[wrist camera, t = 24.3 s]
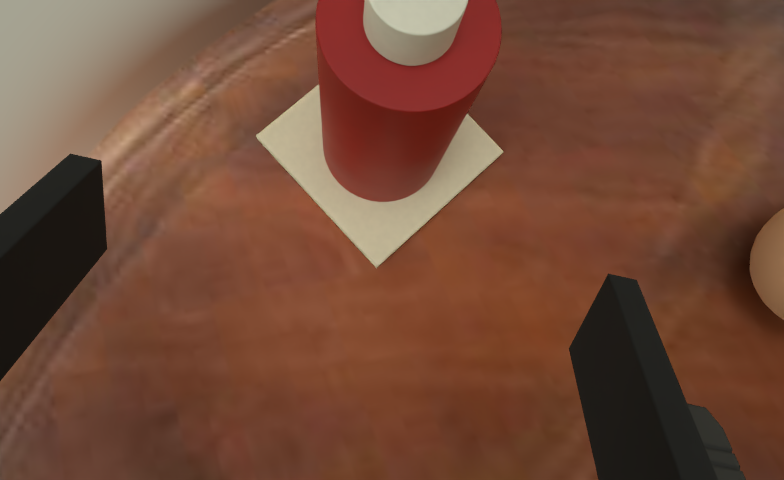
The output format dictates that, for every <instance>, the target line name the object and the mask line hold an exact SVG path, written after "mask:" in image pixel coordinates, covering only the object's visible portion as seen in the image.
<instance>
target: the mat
mask: <svg viewBox="0 0 784 480" xmlns="http://www.w3.org/2000/svg"><path fill="white" fill-rule="evenodd" d="M256 137H257V139H258V140H259V141H260V142H261V143H262V145H263V146H264V147H265V148H266V149H267V150H268V151H269V152H270V153H271V154H272V155H273V157H274V158H275V159H276V160H277V161H278V162H279V163H280V164H281V165H282V166H283V167H284V168H285V170H286V171H287V172H288V173H289V174H290V175H291V176H292V177H293V178H294V179H295V180H296V181H297V183H298V184H299V185H300V186H301V187H302V188H303V189H304V190H305V191H306V192H307V193H308V195H309V196H310V197H311V198H312V199H313V200H314V201H315V202H316V203H317V204H318V205H319V206H320V208H321V209H322V210H323V211H324V212H325V213H326V214H327V215H328V216H329V217H330V218H331V220H332V221H333V222H334V223H335V224H336V225H337V226H338V227H339V228H340V229H341V230H342V231H343V233H344V234H345V235H346V236H347V237H348V238H349V239H350V240H351V241H352V242H353V243H354V244H355V246H356V247H357V248H358V249H359V250H360V251H361V252H362V253H363V254H364V255H365V256H366V258H367V259H368V260H369V261H370V262H371V263H372V264H373V265H374V266H375V267H376V268H377V267H378V266H379V265H380V264H382V263H383V262H384V261H385V260H386V259H387V258H388V257H389V256H390V255H391V254H393V253H394V252H395V251H396V250H397V249H398V248H399V247H400V246H401V245H402V244H404V243H405V242H406V241H407V240H408V239H409V238H410V237H411V236H412V235H413V234H415V233H416V232H417V231H418V230H419V229H420V228H421V227H422V226H423V225H424V224H426V223H427V222H428V221H429V220H430V219H431V218H432V217H433V216H434V215H435V214H437V213H438V212H439V211H440V210H441V209H442V208H443V207H444V206H445V205H446V204H447V203H449V202H450V201H451V200H452V199H453V198H454V197H455V196H456V195H457V194H458V193H460V192H461V191H462V190H463V189H464V188H465V187H466V186H467V185H468V184H469V183H471V182H472V181H473V180H474V179H475V178H476V177H477V176H478V175H479V174H480V173H482V172H483V171H484V170H485V169H486V168H487V167H488V166H489V165H490V164H491V163H493V162H494V161H495V160H496V159H497V158H498V157H499V156H500V155H501V154H502V153H503V150H502V149H501V148H500V147H499V146H498V145H497V144H496V143H495V142H494V141H493V140H492V139H491V138H490V137H489V136H488V135H487V134H486V133H485V132H484V131H483V129H482V128H481V127H480V126H479V125H478V124H477V123H476V122H475V121H474V120H473V119H472V118H471V117H470V116H469V115H468V114H466V116H465V118H464V120H463V121H462V123H461V125H460V127H459V129H458V130H457V132H456V134H455V136H454V138H453V139H452V141H451V143H450V145H449V147H448V148H447V150H446V152H445V154H444V155H443V157H442V159H441V161H440V163H439V164H438V166H437V168H436V170H435V172H434V173H433V175H432V177H431V178H430V179H429V181H428V182H427V183H426V184H425V185H424V186H423V187H422V188H421V189H420V190H418V191H417V192H416V193H414V194H412V195H410V196H408V197H406V198H403V199H400V200H396V201H390V202H377V201H370V200H366V199H363V198H361V197H358V196H356V195H354V194H352V193H350V192H349V191H348V190H346V189H345V188H344V187H343V186H342V185H340V184H339V183H338V181H337V180H336V179H335V178H334V177H333V175H332V173H331V172H330V170H329V168H328V166H327V163H326V160H325V157H324V151H323V139H322V123H321V107H320V90H319V85H317V86H316V87H315V88H314V89H312V90H311V91H310V92H309V93H308V94H306V95H305V96H304V97H303V98H301V99H300V100H299V101H298V102H296V103H295V104H294V105H293V106H292V107H290V108H289V109H288V110H287V111H285V112H284V113H283V114H282V115H281V116H279V117H278V118H277V119H276V120H274V121H273V122H272V123H271V124H270V125H268V126H267V127H266V128H265V129H263V130H262V131H261V132H260V133H258V134H257V135H256Z"/></svg>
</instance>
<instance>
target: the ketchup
mask: <svg viewBox="0 0 784 480" xmlns="http://www.w3.org/2000/svg"><path fill="white" fill-rule="evenodd" d="M501 34H502V28H501V18H500V13H499V8H498V5H497V2H496V0H318V3H317V9H316V42H317V58H318V74H319V90H320V107H321V123H322V139H323V151H324V157H325V160H326V163H327V166H328V168H329V170H330V172H331V173H332V175H333V177H334V178H335V179H336V180H337V181H338V183H339V184H340V185H342V186H343V187H344V188H345V189H346V190H348V191H349V192H350V193H352V194H354V195H356V196H358V197H361V198H363V199H366V200H370V201H377V202H390V201H396V200H400V199H403V198H406V197H408V196H410V195H412V194H414V193H416V192H417V191H418V190H420V189H421V188H422V187H423V186H424V185H425V184H426V183H427V182H428V181H429V179H430V178H431V177H432V175H433V173H434V172H435V170H436V168H437V166H438V164H439V163H440V161H441V159H442V157H443V155H444V154H445V152H446V150H447V148H448V147H449V145H450V143H451V141H452V139H453V138H454V136H455V134H456V132H457V130H458V129H459V127H460V125H461V123H462V121H463V120H464V118H465V116H466V114H467V112H468V111H469V109H470V107H471V105H472V104H473V102H474V100H475V98H476V96H477V95H478V93H479V91H480V89H481V87H482V86H483V84H484V82H485V80H486V78H487V77H488V75H489V73H490V71H491V69H492V68H493V66H494V64H495V61H496V59H497V56H498V53H499V49H500V44H501Z"/></svg>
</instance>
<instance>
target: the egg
mask: <svg viewBox="0 0 784 480" xmlns="http://www.w3.org/2000/svg"><path fill="white" fill-rule="evenodd" d="M750 274H751V279H752V282H753V285H754V287H755V289H756V291H757V293H758V294H759V296H760V298H761V299H762V301H763V303H764V304H765V305H766V306H768V307H769V308H770V309H771V310H772V311H773V312H774V313H775V314H776V315H777V316H779V317H780V318H782V319H783V320H784V208H783V209H782V210H780V211H779V212H777V213H776V214H775V215H774V216H773V217H772V218H771V219H770V220H769V221H768V222H767V223H766V224H765V225H764V226H763V228H762V229H761V231H760V232H759V233H758V235H757V236H756V239H755V241H754V244H753V247H752V250H751V255H750Z"/></svg>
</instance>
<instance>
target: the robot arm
mask: <svg viewBox="0 0 784 480" xmlns="http://www.w3.org/2000/svg"><path fill="white" fill-rule="evenodd" d="M106 250H107V242H106V226H105V211H104V195H103V180H102V164H101V161H100V160H96V159H91V158H87V157H82V156H78V155H73V154H69V155H68V156H67V157H66V158H65V159H64V160H62V161H61V162H60V163H59V164H58V165H57V166H56V167H55V168H53V169H52V170H51V171H50V172H49V173H47V175H45V176H44V177H43V178H42V179H41V180H39V181H38V182H37V183H36V184H35V185H34V186H32V187H31V188H30V189H29V190H28V191H27V192H26V193H24V194H23V195H22V196H21V197H20V198H19V199H17V200H16V201H15V202H14V203H13V204H12V205H11V206H9V207H8V208H7V209H6V210H5V211H4V212H2V213H1V214H0V381H1V379H2V378H3V377H4V376H5V374H6V373H7V372H8V371H9V370H10V368H11V367H12V366H13V365H14V363H15V362H16V361H17V360H18V358H19V357H20V356H21V355H22V353H23V352H24V351H25V350H26V349H27V347H28V346H29V345H30V344H31V342H32V341H33V340H34V339H35V337H36V336H37V335H38V334H39V332H40V331H41V330H42V329H43V328H44V326H45V325H46V324H47V323H48V321H49V320H50V319H51V318H52V316H53V315H54V314H55V313H56V311H57V310H58V309H59V308H60V306H61V305H62V304H63V303H64V302H65V300H66V299H67V298H68V297H69V295H70V294H71V293H72V292H73V290H74V289H75V288H76V287H77V285H78V284H79V283H80V282H81V281H82V279H83V278H84V277H85V276H86V274H87V273H88V272H89V271H90V269H91V268H92V267H93V266H94V264H95V263H96V262H97V261H98V260H99V258H100V257H101V256H102V255H103V253H104V252H105V251H106ZM569 351H570V355H571V360H572V364H573V369H574V373H575V377H576V382H577V386H578V391H579V395H580V400H581V404H582V408H583V413H584V417H585V422H586V426H587V430H588V435H589V439H590V444H591V448H592V453H593V457H594V461H595V466H596V470H597V475H598V479H599V480H746V479H745V477H744V474H743V472H742V471H740V465H739V463H738V461H737V459H736V457H735V454H733V453H732V448H731V446H730V443H729V441H728V439H727V437H726V434H725V432H724V430H723V428H722V427H721V426H720V424H719V423H718V422H717V421H716V420H715V418H714V417H713V416H712V415H711V414H710V412H709V411H708V410H707V409H706V408H705V407H700V406H695V405H691V404H687V402H686V400H685V397H684V395H683V392H682V390H681V388H680V385H679V383H678V380H677V378H676V375H675V373H674V370H673V368H672V366H671V363H670V361H669V358H668V356H667V353H666V351H665V348H664V346H663V344H662V341H661V339H660V336H659V334H658V331H657V329H656V326H655V324H654V322H653V319H652V317H651V314H650V312H649V309H648V307H647V304H646V302H645V300H644V297H643V295H642V292H641V290H640V287H639V285H638V282H637V280H634V279H630V278H625V277H621V276H616V275H612V274H608V275H607V277H606V279H605V281H604V283H603V285H602V287H601V289H600V291H599V292H598V294H597V296H596V298H595V300H594V302H593V304H592V306H591V308H590V310H589V311H588V313H587V315H586V317H585V319H584V321H583V323H582V325H581V327H580V329H579V330H578V332H577V334H576V336H575V338H574V340H573V342H572V344H571V346H570V348H569Z"/></svg>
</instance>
